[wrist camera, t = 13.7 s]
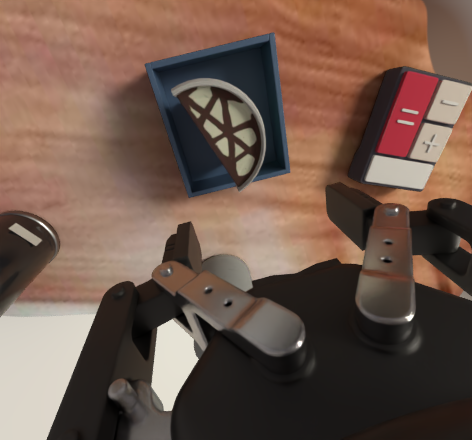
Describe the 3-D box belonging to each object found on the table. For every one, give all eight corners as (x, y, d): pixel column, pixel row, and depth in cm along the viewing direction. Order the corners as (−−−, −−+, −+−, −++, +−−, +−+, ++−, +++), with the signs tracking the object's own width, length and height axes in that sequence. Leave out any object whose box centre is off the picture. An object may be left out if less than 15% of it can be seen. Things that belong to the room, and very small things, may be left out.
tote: (190, 184, 37) (188, 198, 33) (153, 68, 30) (144, 63, 26) (279, 162, 37) (290, 172, 33) (263, 41, 30) (274, 32, 26)
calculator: (480, 82, 32) (426, 193, 38) (450, 85, 36) (405, 185, 42) (407, 64, 30) (362, 184, 36) (383, 69, 34) (346, 177, 40)
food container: (268, 146, 35) (290, 164, 27) (231, 170, 36) (241, 196, 27) (219, 58, 30) (226, 44, 21) (177, 89, 31) (168, 89, 22)
